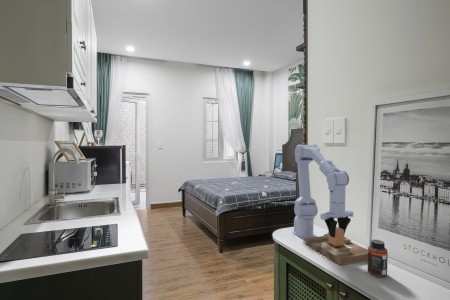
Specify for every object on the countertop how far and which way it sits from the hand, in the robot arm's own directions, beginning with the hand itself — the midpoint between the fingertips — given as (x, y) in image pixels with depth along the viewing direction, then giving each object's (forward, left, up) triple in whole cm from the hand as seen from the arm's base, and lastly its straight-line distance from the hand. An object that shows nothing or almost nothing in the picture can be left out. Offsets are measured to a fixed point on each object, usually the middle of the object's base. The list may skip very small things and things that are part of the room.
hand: (336, 235), depth 104 cm
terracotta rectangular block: (0, 0, -3) cm, 3 cm away
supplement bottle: (+15, +4, -8) cm, 18 cm away
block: (-8, +7, -6) cm, 12 cm away
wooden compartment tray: (-4, +4, -8) cm, 10 cm away
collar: (0, 0, -6) cm, 6 cm away
